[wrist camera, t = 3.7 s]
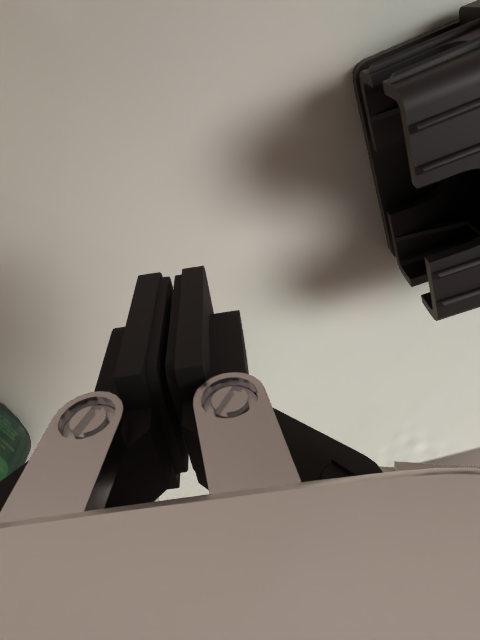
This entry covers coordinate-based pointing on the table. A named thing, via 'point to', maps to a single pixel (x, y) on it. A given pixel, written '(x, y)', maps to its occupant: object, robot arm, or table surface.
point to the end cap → (429, 157)
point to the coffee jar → (12, 442)
